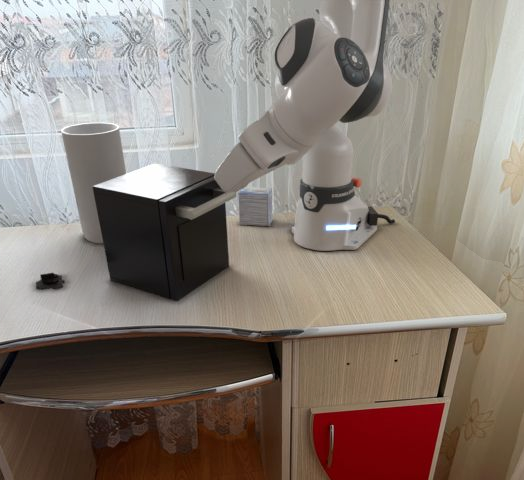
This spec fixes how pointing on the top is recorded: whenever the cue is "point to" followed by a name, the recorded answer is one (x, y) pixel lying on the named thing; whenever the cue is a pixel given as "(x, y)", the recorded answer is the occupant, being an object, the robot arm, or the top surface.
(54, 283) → the black irregular piece
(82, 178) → the cylinder vase
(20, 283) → the top surface
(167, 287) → the oven
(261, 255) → the top surface
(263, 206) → the medicine box
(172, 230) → the oven door
